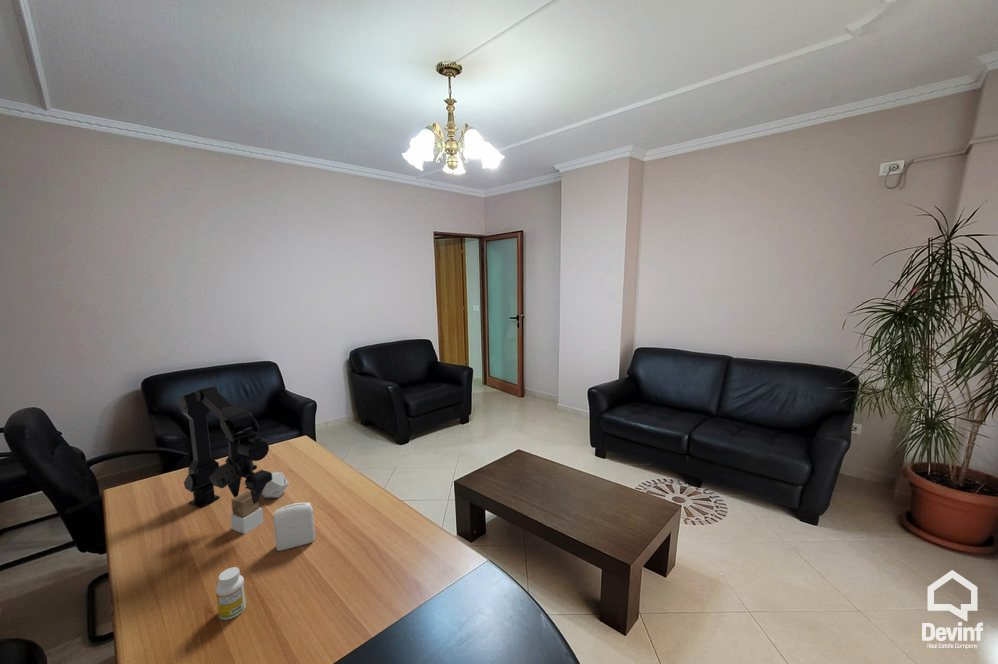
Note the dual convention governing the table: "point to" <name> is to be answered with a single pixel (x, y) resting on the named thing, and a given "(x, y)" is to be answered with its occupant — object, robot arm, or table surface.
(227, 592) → the supplement bottle
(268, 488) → the die
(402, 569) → the table surface
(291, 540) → the photo printer
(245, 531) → the grey block
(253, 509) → the brown cube
